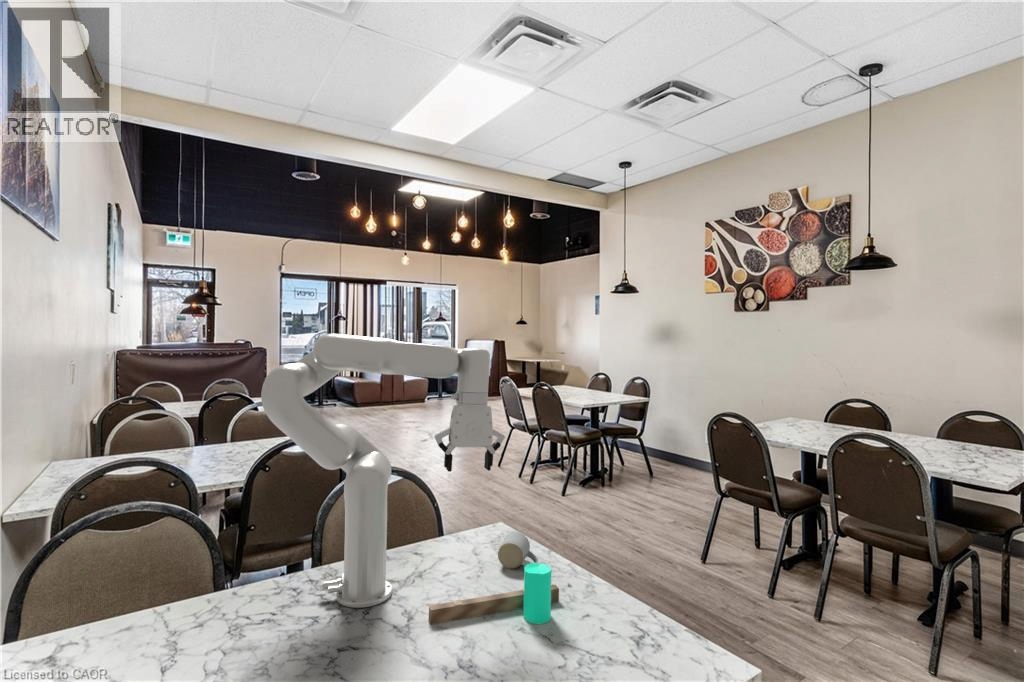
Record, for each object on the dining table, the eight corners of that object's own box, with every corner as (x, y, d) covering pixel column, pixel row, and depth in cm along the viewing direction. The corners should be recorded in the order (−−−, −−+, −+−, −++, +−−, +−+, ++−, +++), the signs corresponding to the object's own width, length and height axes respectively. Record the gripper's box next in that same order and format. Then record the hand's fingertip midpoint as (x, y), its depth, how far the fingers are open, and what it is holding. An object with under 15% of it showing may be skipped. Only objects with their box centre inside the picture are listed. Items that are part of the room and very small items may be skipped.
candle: (548, 625, 105) (549, 568, 105) (520, 621, 106) (521, 565, 107) (552, 611, 111) (553, 557, 111) (526, 607, 112) (526, 554, 113)
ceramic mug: (495, 568, 132) (497, 539, 132) (503, 556, 140) (504, 529, 140) (535, 574, 130) (536, 544, 130) (540, 561, 138) (541, 533, 138)
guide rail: (430, 624, 105) (430, 609, 105) (428, 619, 107) (429, 604, 107) (558, 601, 115) (559, 587, 116) (555, 597, 117) (555, 583, 117)
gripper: (440, 400, 115) (435, 474, 114) (510, 401, 120) (507, 472, 120) (434, 396, 122) (430, 467, 121) (501, 398, 128) (497, 465, 127)
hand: (468, 469), depth 121 cm, fingers open, 9 cm apart
